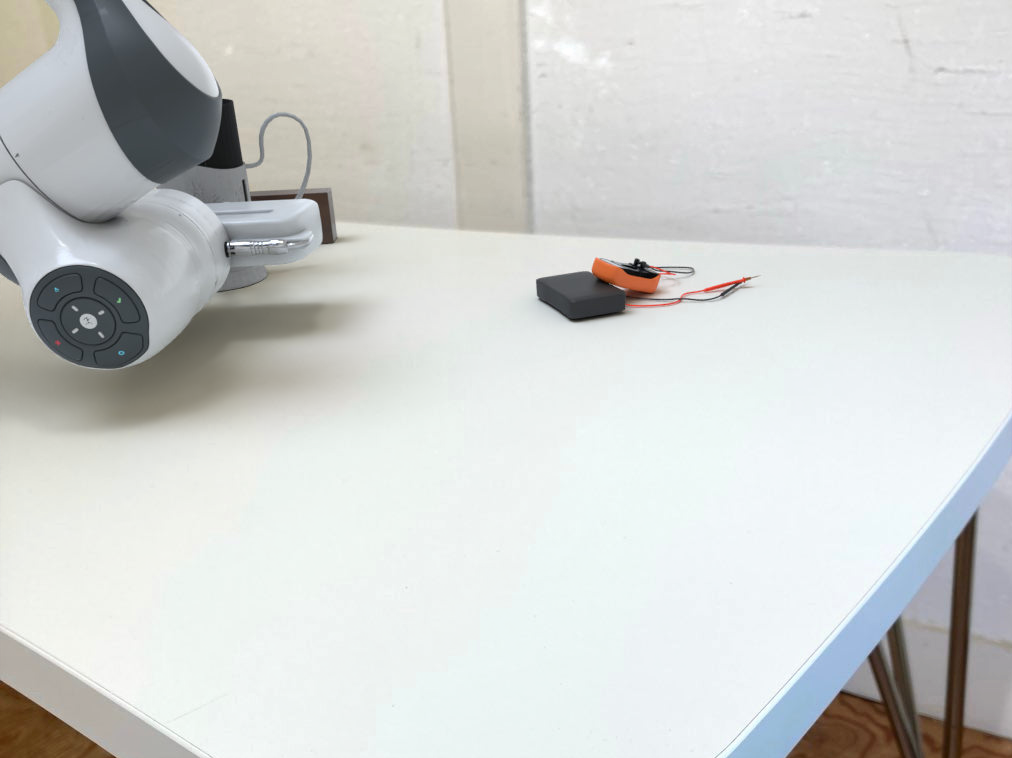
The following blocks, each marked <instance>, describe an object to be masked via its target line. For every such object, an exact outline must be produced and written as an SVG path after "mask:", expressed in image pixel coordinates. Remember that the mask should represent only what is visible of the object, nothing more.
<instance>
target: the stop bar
mask: <svg viewBox="0 0 1012 758" xmlns="http://www.w3.org/2000/svg"><path fill="white" fill-rule="evenodd" d="M299 190H300V188H296V189H295V188H294V189H275V190H274V189H273V190H272V189H271V190H253V191H252V190H250V197H251V201H269V200H289V199H295V197H296V196H297V194H298V192H299ZM301 199H310V200H313V201H315V202H316V203H317V204H318V207H319V212H320V218H321V226H322V243H321V244H334V243H335V241H336V240H337V238H338V232H337V223H336V216H335V208H334V207H335V206H334V200H333V191H332V187H314V188H313V187H312V188H306V189H305V191H304V194H303V196H302V198H301Z"/></svg>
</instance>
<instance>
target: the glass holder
mask: <svg viewBox="0 0 1012 758" xmlns="http://www.w3.org/2000/svg"><path fill="white" fill-rule="evenodd" d="M280 117H283V118H285V117H286V118H290V119H293V120H294V121H296V122H297V123H299V125H300V126H301V128H302V129H303V131H304V135H305V139H306V151H307V152H306V154H307V158H306V168H305V172H304V176H303V180H302V183H301V185H300V188H299V189H300V190H299V192H298V194H297V196H296V197H295V199H301V198H302V196H303V194H304V191H305V189H307V186H308V182H309V179H310V176H311V170H312V163H313V154H312V153H313V151H312V139H311V137H310V132H309V128H308V127H307V126H306V123H304V121H303V120H302V119H301V118H300V117H298V116H296V115H295V114H293V113H290V112H286V111H282V112H281V111H280V112H279V111H277V112H275V113H272V114H270V115H269V116H268V117H267V118H265V119H264V120H263V123H262V124H261V126H260V129H259V133H258V147H259V159H258V161H255V162H252V163H246V162H245V161H244V160H243V153H242V148H241V141H240V134H239V129H238V123H237V116H236V110H235V104H234V100H233V99H230V98H222V113H221V122H220V127H219V132H218V137H217V141H216V144H215V148H214V151H213V154H212V156H211V157H210V158H209V159H207V160H205V161H204V162H202V163H200V164H198V165H197V166H195V167H193V168H191V169H190V170H188V171H186V172H184V173H183V174H181V175H179V176H177V177H176V178H174V179H172V180H170V181H169V182H167V183H165V184H160V185H159V186H157V187H156V188H155V189H173V190H178V191H181V192H184V193H187V194H189V195H192V196H193V197H195V198H197V199H199V200H200V201H202V202H203V203H216V202H248V201H251V197H250V191H251V190H250V186H249V179H248V171H247V170H249V169H254V168H257V167H259V166H261V165H262V164H263V162H264V161H265V144H264V143H265V142H264V141H265V132H266V129H267V128H268V126H269V124H270V123H272V121H273V120H274V119H277V118H280ZM268 274H269V273H268V271H267V269H266V267H265V266H245V267H230V270H229V273H228V276H227V278H226V280H225V282H224V284H223V285H222V287H221V288H220V289H219V290H218V291H217V292H224V291H225V292H226V291H232V290H236V289H241V288H245V287H248V286H251V285H254V284H257V283H259V282H261V281H263V280H265V279H266V278H267V276H268Z"/></svg>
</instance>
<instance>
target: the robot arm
mask: <svg viewBox="0 0 1012 758" xmlns="http://www.w3.org/2000/svg"><path fill="white" fill-rule="evenodd" d="M43 1H44V2H45V4H46V5H48V6H49V8H50V9H51V10H52V11H53V12H54V14H55V15H56V17H57V19H58V25H59V30H58V36H57V39H56V41H55V43H54V44H53V45H52V46H51V48H49V49H48V50H47V51H45V52H44V54H42V55H40V57H38V58H37V59H36V60H34V61H33V62H32V63H30V64H29V65H28V66H27V67H26V68H25V69H23V70H21V71H20V72H19V73H18V74H17V75H16V76H14V77H13V78H12V79H11V80H9V81H8V82H6V83H5V84H4V85H2V87H0V275H1V276H3V277H4V278H5V279H7V280H8V281H10V282H12V283H14V284H15V285H16V286H19V287H20V291H21V296H22V302H23V308H24V311H25V314H26V318H27V320H28V324H29V325H30V326H31V329H32V331H33V332H34V334H35V335H36V336H37V338H38V339H39V340H40V342H41V343H42V344H43V345H44V346H45V347H46V348H47V349H48V350H49V351H50V352H52V353H53V354H54V355H56V356H57V357H59V358H60V359H62V360H64V361H66V362H68V363H70V364H73V365H75V366H78V367H81V368H85V369H91V370H98V371H99V370H100V371H101V370H102V371H114V370H121V369H122V370H123V369H127V368H130V367H133V366H137V365H139V364H141V363H144V362H146V361H148V360H149V359H151V358H153V357H154V356H156V355H157V354H158V353H160V352H161V351H163V350H164V349H165V348H166V347H167V346H169V344H171V343H172V342H173V341H174V340H175V339H176V338H177V337H178V336H179V335H180V334H181V333H182V332H183V331H184V330H185V329H186V328H187V326H188V325H189V324H190V322H191V321H192V319H193V317H194V316H196V315H198V313H200V312H201V310H202V309H204V307H205V306H206V305H207V304H208V303H209V302H210V301H211V300H212V298H213V297H214V296H215V295H216V294H217V293H218V292H219V291H218V290H219V289H220V288H221V287H222V285H223V284H224V282H225V280H226V278H227V276H228V273H229V270H230V267H245V266H264V267H265V266H280V265H281V266H282V265H288V264H292V263H296V262H298V261H301V260H303V259H305V258H306V257H308V256H309V255H310V254H312V253H314V251H316V250H317V249H318V248H319V247H320V246H321V245H322V244H323V243H322V226H321V218H320V212H319V207H318V204H317V203H316V202H315V201H313V200H310V199H289V200H269V201H248V202H216V203H203V202H202V201H200V200H199V199H197V198H195V197H193V196H192V195H189V194H187V193H184V192H181V191H178V190H173V189H156V187H157V186H159V185H160V184H165V183H167V182H169V181H170V180H172V179H174V178H176V177H177V176H179V175H181V174H183V173H184V172H186V171H188V170H190V169H191V168H193V167H195V166H197V165H198V164H200V163H202V162H204V161H205V160H207V159H209V158H210V157H211V156H212V154H213V151H214V148H215V144H216V141H217V137H218V132H219V127H220V122H221V113H222V99H223V92H222V88H221V86H220V85H219V82H218V80H217V79H216V76H214V73H213V72H212V69H211V68H210V66H209V65H208V63H207V62H206V60H205V59H204V56H202V54H201V53H200V52H199V51H198V50H197V49H196V47H195V46H194V45H193V44H192V43H191V42H190V41H189V40H188V39H187V38H186V36H184V35H183V33H181V32H180V31H179V30H178V29H177V28H176V27H174V25H172V23H170V22H169V21H168V20H167V19H166V18H165V17H164V16H163V15H162V14H161V12H159V11H158V10H157V9H156V8H155V7H154V6H153V5H152V4H151V3H150V2H149V1H148V0H43Z"/></svg>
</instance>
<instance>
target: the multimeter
mask: <svg viewBox="0 0 1012 758" xmlns="http://www.w3.org/2000/svg"><path fill="white" fill-rule="evenodd" d="M665 269H689V270H691V271H678V270H677V271H676V270H665ZM694 272H695V268H694V267H691V266H655V265H650V264H648V263H647V262H646V261H645V260H640V258H638V257H634V259H633V262H628V263H627V262H620V261H614V260H610V259H608V258H603V257H597V256H596V257H595V258H594V261H593V263H592V265H591V272H590V271H588V270H583V271H575V272H568V273H561V274H556V275H549V276H543V277H539V278H537V279H536V280H535V286H536V287H535V288H536V297H537V298H538V299H540V300H542V301H544V302H546V303H547V304H549V305H551V306H552V307H553V308H555V309H557V310H558V311H559V312H561V313H562V314H563V315H565V316H566V317H567V318H569V319H583V318H589V317H595V316H600V315H606V314H612V313H617V312H618V313H619V312H622V311H624V310H626V307H627V306H628V307H639V308H641V307H642V308H645V307H646V308H647V307H659V306H660V307H663V306H670V305H674V304H678V303H679V302H681V301H682V300H683V301H684V300H685V301H695V302H706V301H712V300H717V299H718V298H720V297H721V298H722V297H724V296H725V295H727V294H728V293H730V292H731V291H733V290H734V289H735V288H737V287H738V286H739V285H741V284H743V283H744V284H745V283H746V282H747V281H751V280H752V279H755V278H758V277H760V276H761V275H755V276H748V277H745V276H742V278H741V279H736V280H732V281H728V282H723V283H720V284H716V285H712V286H709V287H705V288H704V289H700V290H694V291H688V292H685V293H684V292H683V293H682V294H681V295H680V297H674V298H673V297H672V298H654V297H652V298H651V297H640V296H639V297H638V296H631V295H627V294H626V291H625V290H624V289H626V290H631V291H638V292H643V293H649V294H654V293H655V292H656V290H657V288H658V285H659V284H660V280H661V276H662V275H664V276H666V275H668V276H677V274H682V275H683V274H685V275H687V274H688V275H689V274H692V273H694ZM727 287H728V288H727ZM723 288H727V289H726V290H724V291H722V292H721V293H720V294H719V295H716V296H714V297H710V298H692V297H691V298H689V297H684V296H686V295H689V294H697V293H702V292H706V293H707V292H711V291H715V290H720V289H723ZM627 298H628V299H635V300H647V301H672V302H666V303H657V304H655V303H654V304H630V303H626V301H627Z"/></svg>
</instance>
